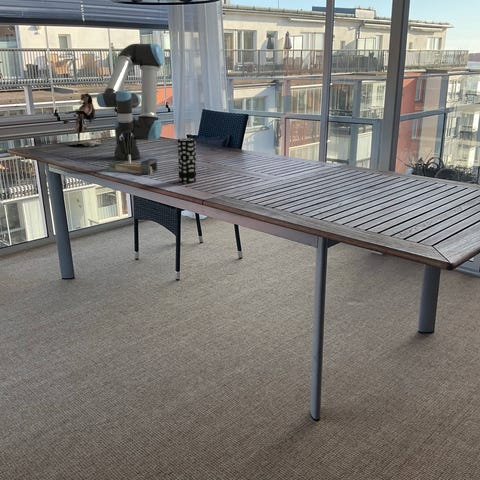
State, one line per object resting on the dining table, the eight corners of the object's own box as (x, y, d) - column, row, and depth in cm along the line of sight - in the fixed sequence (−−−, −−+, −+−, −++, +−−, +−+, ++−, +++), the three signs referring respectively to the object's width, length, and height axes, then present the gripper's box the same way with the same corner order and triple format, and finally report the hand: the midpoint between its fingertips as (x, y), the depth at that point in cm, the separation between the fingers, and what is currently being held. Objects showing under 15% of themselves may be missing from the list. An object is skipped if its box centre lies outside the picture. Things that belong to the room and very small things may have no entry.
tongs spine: (113, 169, 275) (113, 162, 273) (154, 172, 267) (153, 165, 266) (109, 170, 270) (108, 164, 269) (149, 174, 263) (149, 167, 262)
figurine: (73, 147, 364) (62, 96, 355) (107, 143, 366) (97, 92, 356) (65, 150, 340) (53, 96, 331) (101, 145, 341) (90, 91, 332)
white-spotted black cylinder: (193, 183, 243) (192, 141, 237) (176, 182, 245) (175, 140, 238) (198, 180, 251) (197, 138, 244) (182, 179, 252) (180, 137, 246)
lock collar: (150, 169, 272) (150, 158, 270) (157, 170, 270) (156, 159, 268) (141, 173, 263) (141, 161, 261) (148, 173, 262) (148, 162, 260)
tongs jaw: (115, 168, 277) (115, 160, 275) (147, 170, 270) (147, 162, 269) (111, 169, 273) (110, 161, 272) (143, 172, 267) (143, 164, 265)
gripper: (125, 119, 274) (128, 163, 282) (112, 122, 262) (115, 168, 270) (138, 120, 272) (140, 164, 280) (125, 123, 260) (128, 169, 268)
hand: (128, 166), depth 275 cm, fingers closed
